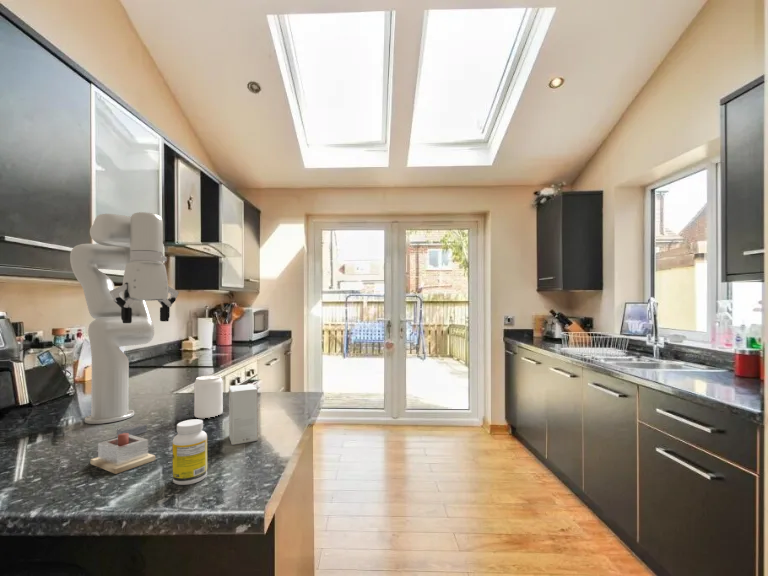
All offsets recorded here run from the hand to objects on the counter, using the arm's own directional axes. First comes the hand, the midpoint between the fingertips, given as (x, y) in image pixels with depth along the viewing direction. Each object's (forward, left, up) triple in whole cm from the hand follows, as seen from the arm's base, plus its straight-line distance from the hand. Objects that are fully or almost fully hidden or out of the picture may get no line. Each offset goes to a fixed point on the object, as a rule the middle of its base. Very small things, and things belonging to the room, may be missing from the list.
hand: (146, 322), depth 104 cm
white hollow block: (+14, -12, -29) cm, 34 cm away
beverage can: (-2, +20, -31) cm, 37 cm away
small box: (+25, +11, -31) cm, 41 cm away
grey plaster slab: (-5, -1, -30) cm, 31 cm away
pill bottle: (+35, -10, -31) cm, 47 cm away
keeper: (+14, -12, -30) cm, 35 cm away
